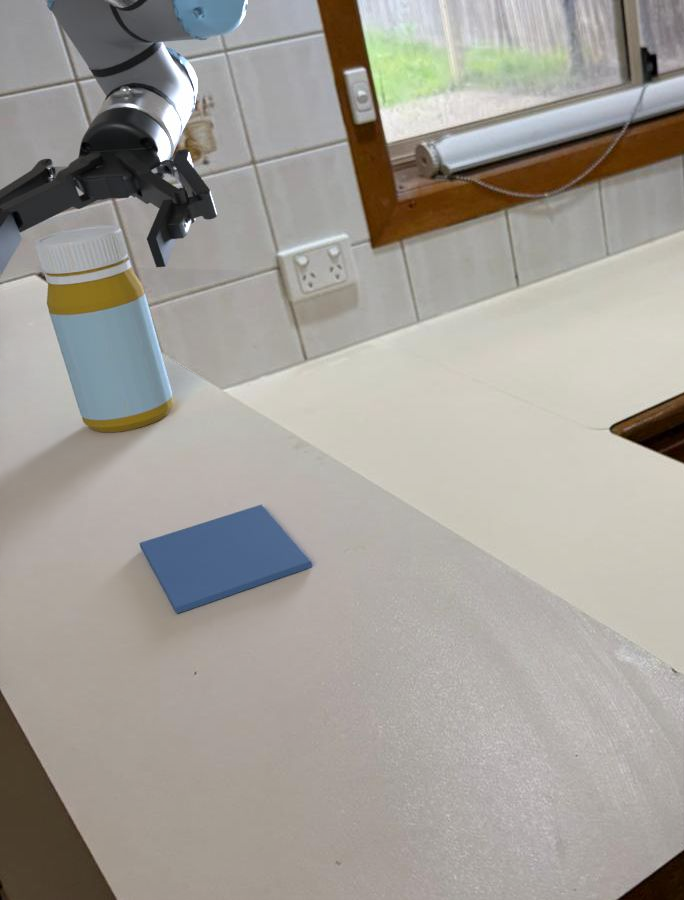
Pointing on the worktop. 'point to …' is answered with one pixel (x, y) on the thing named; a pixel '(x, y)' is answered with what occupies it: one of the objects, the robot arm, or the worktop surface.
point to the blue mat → (222, 557)
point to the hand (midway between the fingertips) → (72, 259)
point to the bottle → (104, 329)
